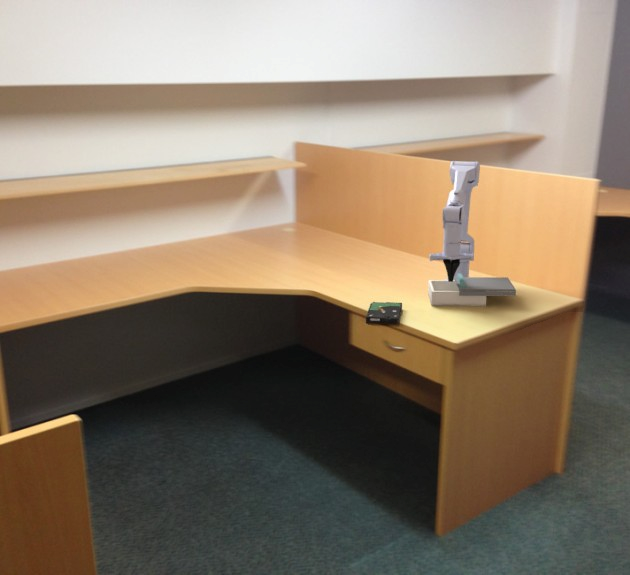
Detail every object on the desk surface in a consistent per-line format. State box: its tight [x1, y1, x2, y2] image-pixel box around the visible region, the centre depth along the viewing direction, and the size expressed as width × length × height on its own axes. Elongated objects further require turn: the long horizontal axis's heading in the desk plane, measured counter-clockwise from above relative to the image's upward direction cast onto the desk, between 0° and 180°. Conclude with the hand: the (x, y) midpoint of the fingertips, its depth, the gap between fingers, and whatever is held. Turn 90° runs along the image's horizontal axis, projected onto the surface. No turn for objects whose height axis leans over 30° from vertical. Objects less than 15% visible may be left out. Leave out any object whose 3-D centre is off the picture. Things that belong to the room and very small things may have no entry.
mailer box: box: [427, 279, 487, 307], centre depth 235 cm, size 13×18×5 cm
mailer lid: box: [454, 274, 517, 297], centre depth 233 cm, size 15×18×4 cm
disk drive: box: [365, 301, 403, 325], centre depth 222 cm, size 10×3×15 cm
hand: (450, 280), depth 233 cm, fingers closed
